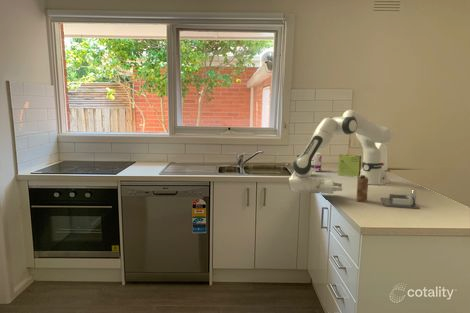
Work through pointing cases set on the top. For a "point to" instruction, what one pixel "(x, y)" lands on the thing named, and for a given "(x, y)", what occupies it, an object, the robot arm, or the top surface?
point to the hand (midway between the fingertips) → (342, 187)
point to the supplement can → (316, 162)
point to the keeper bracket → (401, 201)
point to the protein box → (349, 165)
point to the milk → (383, 154)
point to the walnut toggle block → (362, 188)
